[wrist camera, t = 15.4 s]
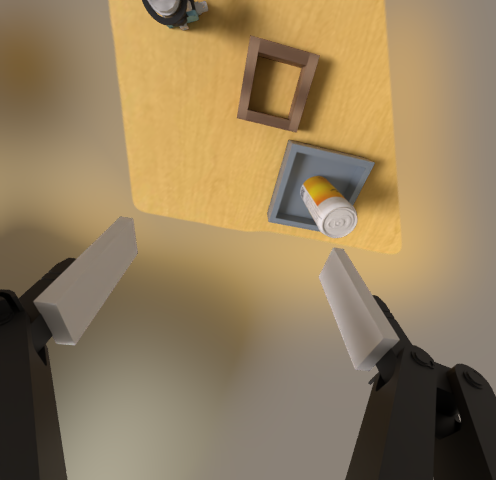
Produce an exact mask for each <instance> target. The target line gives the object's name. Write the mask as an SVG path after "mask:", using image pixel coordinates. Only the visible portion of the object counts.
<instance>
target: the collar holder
mask: <svg viewBox="0 0 496 480" xmlns="http://www.w3.org/2000/svg"><path fill="white" fill-rule="evenodd" d="M257 56H261V57H264V58H268V59H271V60H275V61H278V62H282V63H286V64H289V65H293V66H296V67H300V68H302V69H301V72H300V76H299V80H298V83H297V87H296V91H295V94H294V98H293V101H292V105H291V109H290V112H289V116H288V119H285V118H281V117H277V116H273V115H269V114H265V113H261V112H257V111H253V110H249V109H248V105H249V99H250V94H251V89H252V83H253V78H254V72H255V67H256V61H257ZM319 57H320V55H316V54H313V53H309V52H306V51H302V50H299V49H296V48H292V47H289V46H285V45H282V44H278V43H275V42H272V41H268V40H265V39H261V38H258V37H255V36H251V35H250V41H249V47H248V53H247V59H246V66H245V72H244V78H243V84H242V90H241V96H240V102H239V108H238V114H237V118H239V119H243V120H247V121H251V122H255V123H259V124H264V125H268V126H272V127H276V128H280V129H284V130H288V131H292V132H297V129H298V126H299V123H300V119H301V116H302V113H303V110H304V106H305V103H306V100H307V96H308V93H309V90H310V86H311V83H312V80H313V77H314V73H315V70H316V67H317V63H318V60H319Z"/></svg>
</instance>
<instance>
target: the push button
mask: <svg viewBox="0 0 496 480" xmlns="http://www.w3.org/2000/svg"><path fill="white" fill-rule="evenodd" d="M142 2H143V4H144V6H145V8H146V10H147V11H148V13H149V14H150V15H151V16H152V17H153V18H154V19H155V20H156V21H158V22H159V23H161V24H163V25H167V26H168V27H169V28H174V27H176V26H180V28H181V30H187V29H189V27H188V26H187V23H190V22H194V21H197V20H199V18H198V15H201V13H202V12H206V11H208V6H207V3H206V1H203V2H200V3H198V2H194V0H142ZM203 6H205V7H204V8H203ZM155 11H156V12H157V13H159V14H160V15H162V16H163V17H161V16H159V15H158V14H157V13H156V12H155ZM184 28H185V29H184Z"/></svg>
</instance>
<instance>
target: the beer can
mask: <svg viewBox="0 0 496 480" xmlns="http://www.w3.org/2000/svg"><path fill="white" fill-rule="evenodd" d="M300 194H301V197H302V199H303V201H304V203H305V205H306V207H307V208H308V210H309V212H310V214H311V216H312V217H313V219H314V221H315V223H316V225H317V226H318V228H319V230H320V231H321V232H322V233H323V234H325V235H327V236H329V237H332V238H340V237H343V236H346V235H348V234H349V233H350V232H351V231H352V230H353V229H354V228H355V226H356V224H357V212H356V210H355V208H354V207H353V206H352V205H351V204H350V203H349V202H348V201H347V200H346V199H345V198H344V197H343V196H342V195H341V193H340V192H339V191H338V190H337V189H336V188H335V187H334V186H333V185H332V184H331V183H330V182H329V181H328V180H327V179H326V178H324V177H322V176H313V177H311V178H309V179H307V180H306V181H305V182H304V183H303V185H302V187H301V190H300Z"/></svg>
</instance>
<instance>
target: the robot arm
mask: <svg viewBox="0 0 496 480" xmlns="http://www.w3.org/2000/svg"><path fill="white" fill-rule="evenodd" d="M137 254H138V251H137V244H136V236H135V229H134V221H133V218H127V217H119V218H118V219H117V220H116V221H115V222H114V223H113V224H112V225H111V226H110V227H109V228H108V229H107V230H106V231H105V232H104V233H103V234H102V235H101V236H100V237H99V238H98V239H97V240H96V241H95V242H94V243H93V244H92V245H91V246H90V247H89V248H87V249H86V250H85V252H83V253H82V254H81V255H80V256H79V257H78V258H77V259H75V258H68V259H66V260H64V261H62V262H60V263H58V264H56V265H55V266H54V267H53V268H52V269H51V270H50V271H49V272H48V273H47V274H45V275H44V276H43V277H42V279H41V280H39V281H38V282H36V283H35V284H34V285H33V286H32V287H31V288H30V289H29V290H27V291H26V292H25V293H24V294H23V295H22V296H21V297H20V298H19V299H18V297H17V296H16V294H15V292H13V291H11V290H0V480H67V475H66V467H65V461H64V454H63V447H62V441H61V434H60V427H59V421H58V415H57V407H56V401H55V394H54V387H53V380H52V374H51V368H50V361H49V355H48V348H47V346H46V343H47V341H48V340H49V339H50V338H51V337H52V336H53V338H54V340H55V342H56V343H57V344H68V345H76V343H77V341H78V340H79V339H80V337H81V336H82V334H83V333H84V331H85V330H86V328H87V327H88V325H89V324H90V323H91V321H92V320H93V318H94V317H95V315H96V314H97V312H98V311H99V309H100V307H101V306H102V305H103V303H104V302H105V301H106V299H107V297H108V296H109V295H110V293H111V292H112V290H113V289H114V287H115V286H116V284H117V283H118V281H119V280H120V279H121V277H122V276H123V274H124V273H125V271H126V270H127V268H128V267H129V265H130V264H131V262H132V261H133V259H134V258H135V257H136V255H137ZM319 279H320V281H321V283H322V286H323V289H324V291H325V294H326V297H327V299H328V302H329V304H330V307H331V309H332V311H333V314H334V317H335V319H336V322H337V325H338V327H339V330H340V332H341V335H342V337H343V340H344V342H345V345H346V347H347V350H348V353H349V355H350V358H351V360H352V363H353V365H354V368H355V370H365V371H370V370H371V369H372V367H374V366H375V365H376V366H377V368H378V371H379V372H378V373H377V374H376V375H375V376H374V377H373V378H372V379H371V380H370V381H369V384H370V385H371V384H372V383H373V382H374V384H373V387H372V390H371V394H370V397H369V401H368V404H367V407H366V411H365V414H364V418H363V421H362V424H361V428H360V431H359V435H358V438H357V441H356V445H355V448H354V452H353V455H352V459H351V462H350V465H349V469H348V472H347V476H346V479H345V480H433V478H434V480H496V396H495V394H494V392H493V390H492V388H491V386H490V385H489V383H488V382H487V380H485V378H484V377H483V376H482V375H481V374H480V373H478V372H477V371H476V370H474V369H472V368H471V367H469V366H467V365H464V364H456V365H455V366H454V367H453V368H449V367H446V366H443V365H441V364H438V363H436V362H434V360H433V359H432V358H431V357H430V355H429V354H428V353H426V352H425V351H424V350H423V349H421V348H419V347H417V346H414V345H412V344H411V342H410V341H409V339H408V338H407V336H406V335H405V333H404V332H403V330H402V329H401V327H400V325H399V324H398V322H397V321H396V320H395V319H394V316H393V315H392V313H390V310H389V309H388V307H387V306H386V304H385V303H384V302H383V301H382V300H381V299H380V298H379V297H378V296H375V295H372V294H371V292H370V291H369V290H368V288H367V286H366V284H365V283H364V281H363V280H362V278H361V276H360V275H359V273H358V271H357V270H356V268H355V267H354V265H353V263H352V262H351V260H350V259H349V257H348V255H347V254H346V253H345V251H344V249H340V248H333V249H332V251H331V253H330V255H329V257H328V259H327V261H326V263H325V265H324V267H323V269H322V272H321V273H320V276H319ZM458 414H459V415H460V418H461V422H460V420H459V417H458Z"/></svg>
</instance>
